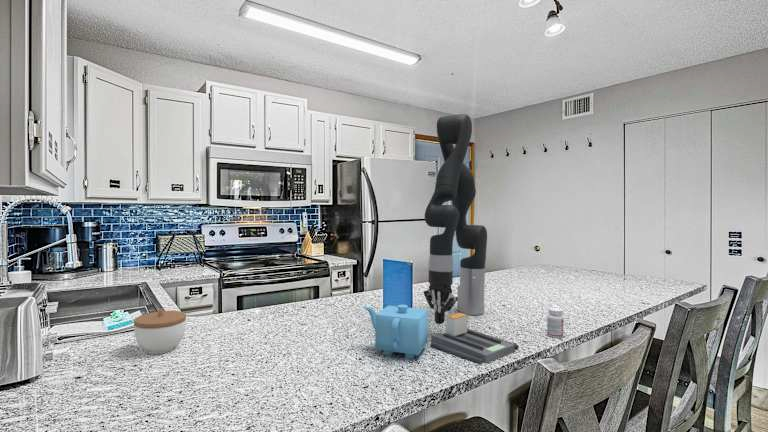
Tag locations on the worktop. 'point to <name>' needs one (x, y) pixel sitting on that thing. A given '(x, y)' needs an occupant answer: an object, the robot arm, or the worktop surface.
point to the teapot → (400, 329)
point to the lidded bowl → (160, 330)
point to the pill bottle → (555, 323)
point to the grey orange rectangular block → (456, 324)
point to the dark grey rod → (499, 339)
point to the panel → (475, 345)
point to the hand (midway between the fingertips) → (439, 323)
